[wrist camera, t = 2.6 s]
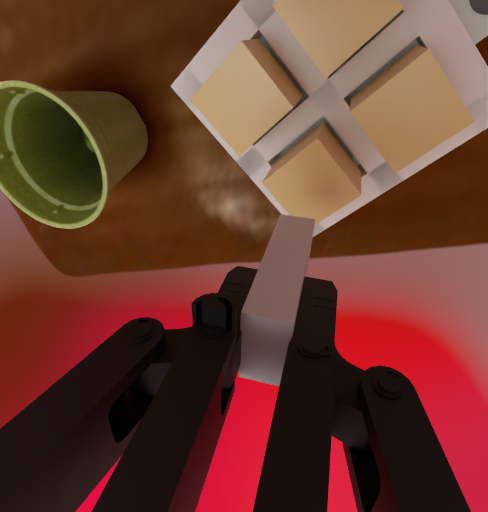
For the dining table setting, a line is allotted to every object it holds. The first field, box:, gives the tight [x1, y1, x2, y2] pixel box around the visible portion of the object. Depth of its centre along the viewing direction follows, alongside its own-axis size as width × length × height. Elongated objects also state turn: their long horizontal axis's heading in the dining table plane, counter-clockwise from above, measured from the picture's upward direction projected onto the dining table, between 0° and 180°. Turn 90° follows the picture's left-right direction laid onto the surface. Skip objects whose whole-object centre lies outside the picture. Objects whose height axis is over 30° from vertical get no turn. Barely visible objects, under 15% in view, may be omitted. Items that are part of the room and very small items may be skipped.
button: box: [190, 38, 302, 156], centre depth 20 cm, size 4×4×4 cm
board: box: [171, 0, 488, 237], centre depth 22 cm, size 14×14×4 cm
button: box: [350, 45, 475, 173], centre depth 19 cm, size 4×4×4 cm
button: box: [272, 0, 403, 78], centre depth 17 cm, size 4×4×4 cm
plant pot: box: [0, 80, 148, 229], centre depth 26 cm, size 9×9×9 cm
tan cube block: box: [262, 122, 362, 225], centre depth 22 cm, size 4×4×4 cm
